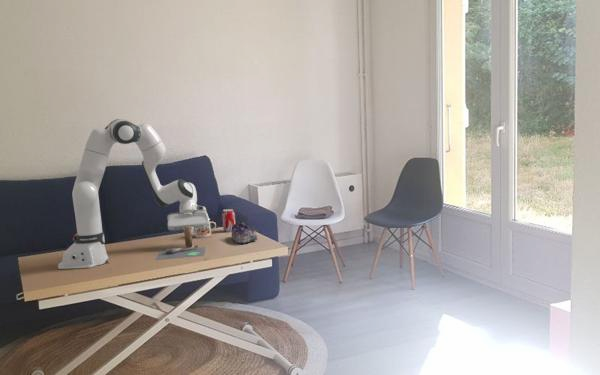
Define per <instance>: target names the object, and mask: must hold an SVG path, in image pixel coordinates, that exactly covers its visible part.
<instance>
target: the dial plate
mask: <svg viewBox="0 0 600 375" xmlns="http://www.w3.org/2000/svg"><path fill="white" fill-rule="evenodd" d="M205 251H206V247H205V246H202V247H201V246H200V247H197V248H190V249H184V250H178V251H175V253H173V254H166V250H159V252H158V253H157V256H156V258H155V261H163V260H172V259H182V258H183V259H185V258H193V257H194V258H195V257H204V256H205V253H206V252H205Z"/></svg>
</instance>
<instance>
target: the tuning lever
mask: <svg viewBox="0 0 600 375" xmlns="http://www.w3.org/2000/svg"><path fill="white" fill-rule="evenodd" d="M183 233H184V243H185V244H184V245H185V246H184V247H182V246H181V247H178V248H176V247H173V246H172V247H166V248H165V251H166V254H173V253H175V251H178V250H184V249H190V248H199V247H198V245H197V244H194V245H193V238H192V236H193V235H192V236H191V226H184V229H183Z"/></svg>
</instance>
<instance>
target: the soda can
mask: <svg viewBox="0 0 600 375" xmlns="http://www.w3.org/2000/svg"><path fill="white" fill-rule="evenodd" d="M221 220H222V230H223V231H224V232H226V233H232V227H231V226H233V225H234V224H236V214H235V211H234V208H228V209H227V208H226V209H223V210H222V213H221Z"/></svg>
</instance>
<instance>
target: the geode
mask: <svg viewBox="0 0 600 375" xmlns="http://www.w3.org/2000/svg"><path fill="white" fill-rule="evenodd" d="M231 227H232V232H231V239H232V240H233V241H235V243H238V244H242V245H245V244H247V243H251V242H253V241H257V240H258V234H257V229H255V227H253V226H249V225H247V224H245V223H244V222H243V221H242V220H240V222H238V221H235V224H234V225H233V226H231Z"/></svg>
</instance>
